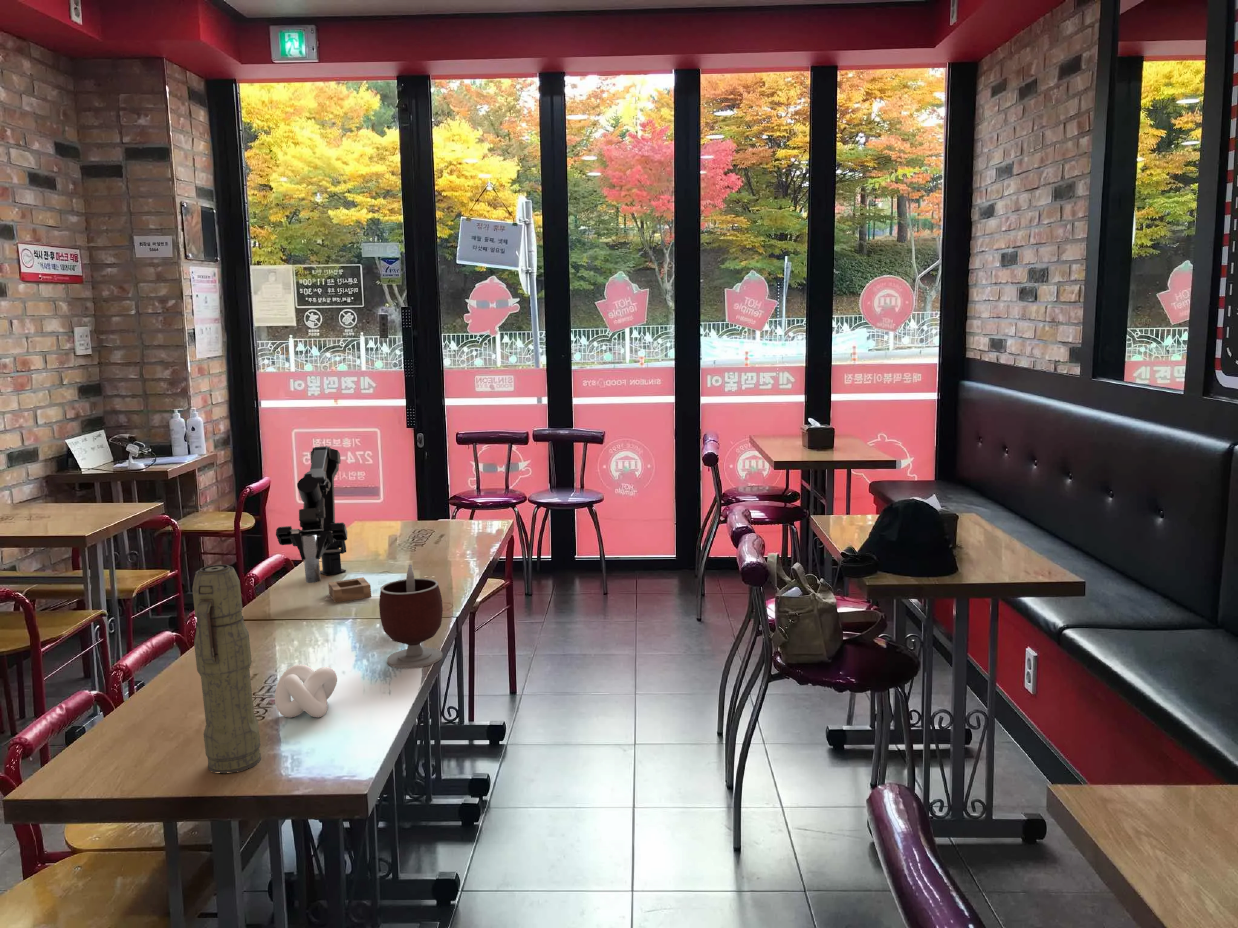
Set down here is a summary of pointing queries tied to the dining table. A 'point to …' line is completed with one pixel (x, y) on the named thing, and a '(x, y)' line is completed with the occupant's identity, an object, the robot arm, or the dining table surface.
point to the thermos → (225, 671)
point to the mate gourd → (411, 619)
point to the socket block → (349, 589)
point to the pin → (311, 558)
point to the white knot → (304, 690)
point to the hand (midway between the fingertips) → (310, 559)
